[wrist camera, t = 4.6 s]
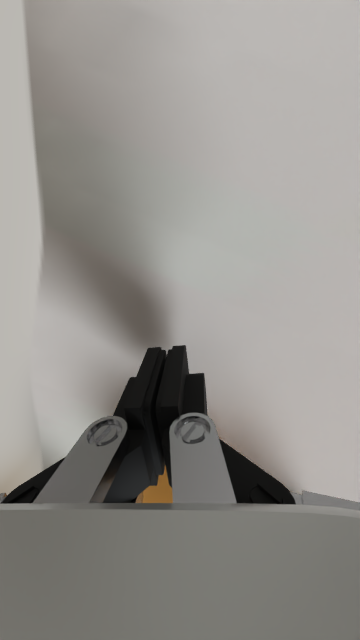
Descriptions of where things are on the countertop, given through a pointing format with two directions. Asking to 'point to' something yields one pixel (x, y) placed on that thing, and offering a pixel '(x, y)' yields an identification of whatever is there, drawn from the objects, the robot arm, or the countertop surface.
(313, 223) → the countertop surface
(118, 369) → the countertop surface
